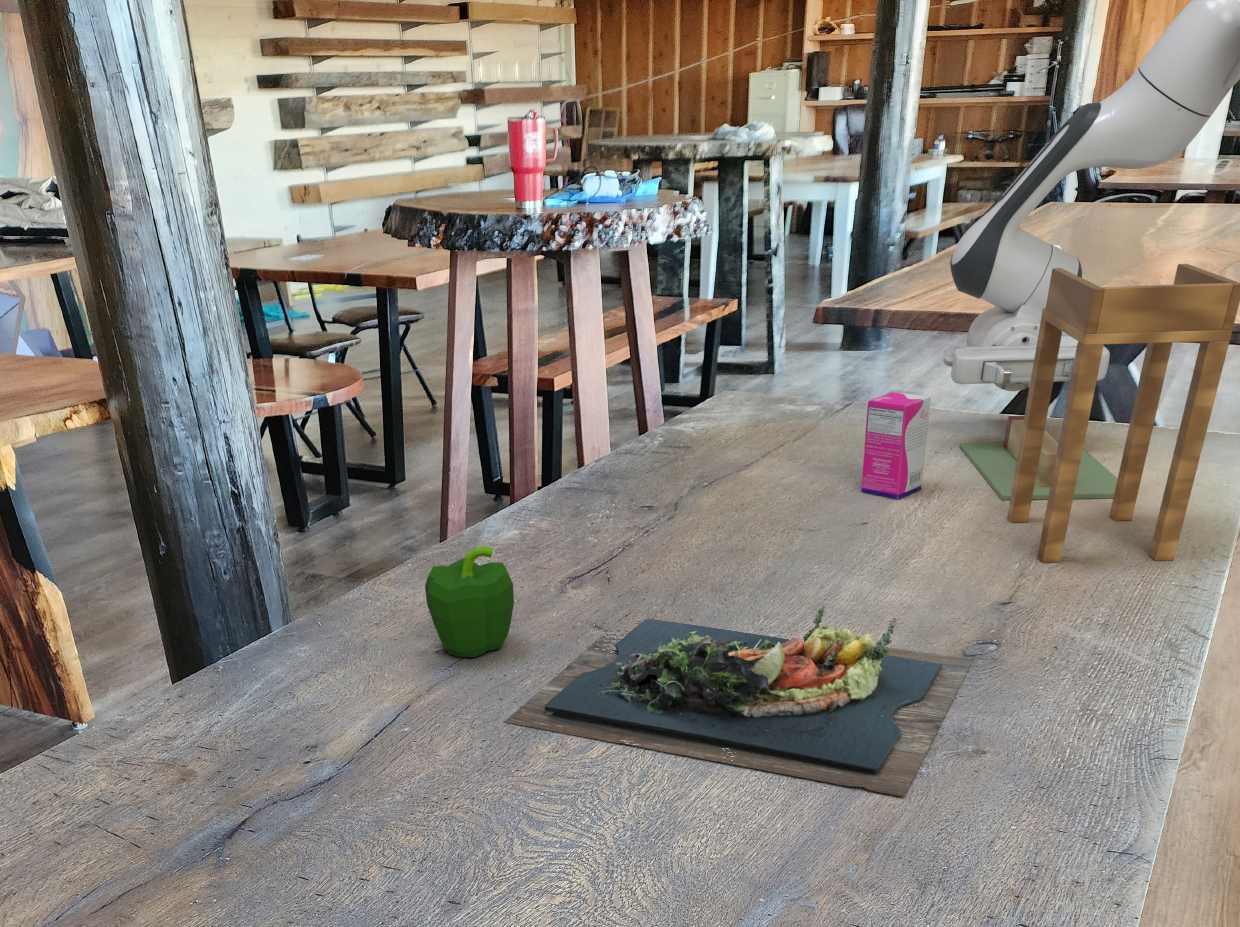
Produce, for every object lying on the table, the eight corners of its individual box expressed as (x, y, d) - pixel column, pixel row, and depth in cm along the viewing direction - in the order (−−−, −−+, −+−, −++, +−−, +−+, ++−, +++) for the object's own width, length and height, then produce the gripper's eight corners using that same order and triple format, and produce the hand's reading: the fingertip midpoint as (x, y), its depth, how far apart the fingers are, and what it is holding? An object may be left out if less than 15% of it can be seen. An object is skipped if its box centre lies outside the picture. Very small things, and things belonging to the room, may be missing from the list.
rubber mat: (1073, 443, 168) (1074, 439, 167) (1133, 497, 146) (1134, 492, 146) (959, 446, 169) (959, 442, 169) (1001, 500, 148) (1002, 495, 147)
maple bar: (1025, 445, 166) (1030, 415, 163) (1064, 486, 149) (1071, 453, 147) (1002, 446, 166) (1007, 415, 164) (1039, 487, 150) (1045, 454, 147)
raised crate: (1126, 515, 141) (1184, 261, 126) (1173, 560, 128) (1244, 283, 112) (1007, 517, 142) (1049, 266, 127) (1041, 562, 129) (1094, 288, 113)
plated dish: (974, 656, 109) (986, 580, 105) (910, 804, 88) (921, 717, 84) (627, 613, 122) (624, 544, 118) (501, 733, 102) (493, 654, 97)
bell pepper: (415, 659, 113) (403, 558, 108) (453, 628, 120) (444, 530, 114) (494, 670, 111) (486, 566, 105) (529, 637, 117) (523, 537, 111)
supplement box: (883, 481, 156) (893, 390, 150) (922, 489, 152) (934, 395, 146) (858, 491, 153) (867, 398, 146) (897, 499, 149) (908, 404, 143)
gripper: (944, 333, 164) (964, 352, 153) (1094, 328, 163) (1126, 347, 151) (937, 381, 168) (957, 403, 156) (1085, 377, 166) (1115, 399, 155)
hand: (1042, 375), depth 154 cm, fingers open, 8 cm apart
